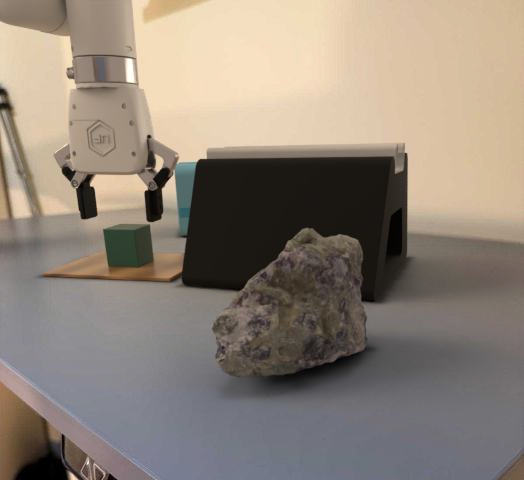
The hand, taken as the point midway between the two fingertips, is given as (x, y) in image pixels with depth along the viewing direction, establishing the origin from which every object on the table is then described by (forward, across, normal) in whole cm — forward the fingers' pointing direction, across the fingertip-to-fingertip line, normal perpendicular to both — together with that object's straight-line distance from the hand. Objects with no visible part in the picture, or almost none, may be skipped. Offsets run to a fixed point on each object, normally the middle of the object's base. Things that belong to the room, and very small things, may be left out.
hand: (121, 219), depth 72 cm
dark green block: (+6, +1, 0) cm, 6 cm away
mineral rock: (+6, +30, -28) cm, 41 cm away
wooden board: (+6, +1, 0) cm, 6 cm away
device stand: (+6, +25, +1) cm, 26 cm away
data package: (+7, -1, +28) cm, 29 cm away
